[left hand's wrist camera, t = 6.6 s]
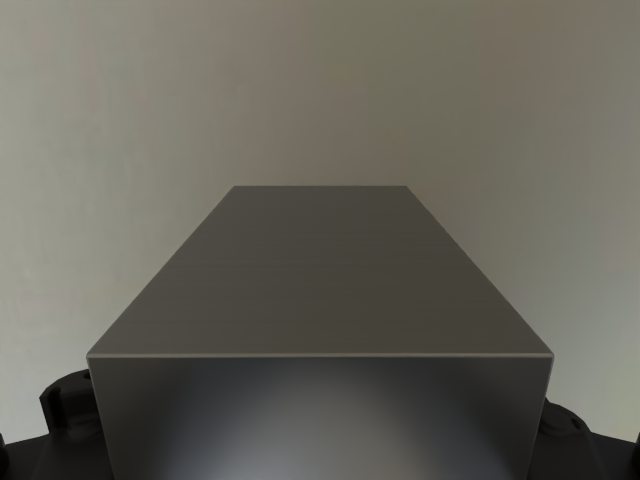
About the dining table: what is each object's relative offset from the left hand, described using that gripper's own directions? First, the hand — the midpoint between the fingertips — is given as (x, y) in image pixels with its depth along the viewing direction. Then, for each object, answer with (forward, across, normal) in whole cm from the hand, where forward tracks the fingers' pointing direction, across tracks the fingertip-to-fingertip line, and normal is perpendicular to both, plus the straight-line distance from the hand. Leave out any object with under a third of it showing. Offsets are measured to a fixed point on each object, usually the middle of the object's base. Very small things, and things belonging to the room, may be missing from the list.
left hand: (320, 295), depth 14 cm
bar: (+1, 0, -10) cm, 10 cm away
